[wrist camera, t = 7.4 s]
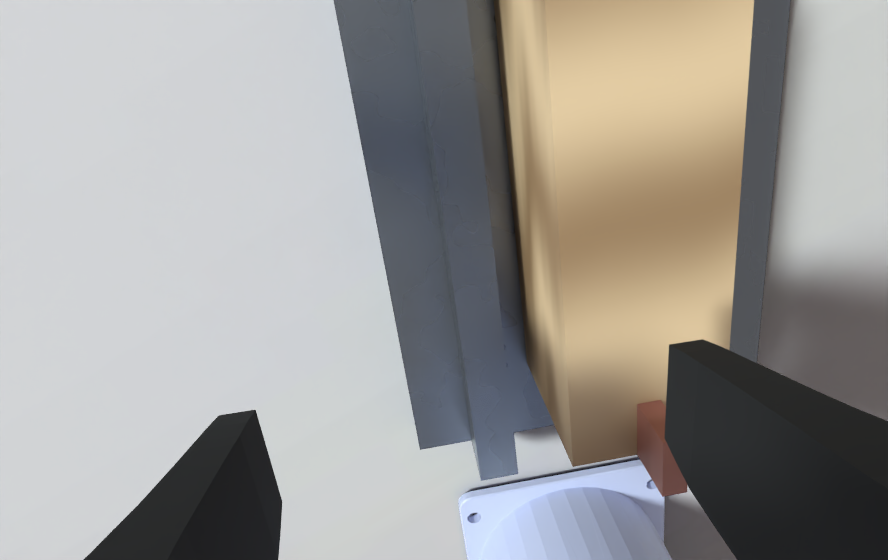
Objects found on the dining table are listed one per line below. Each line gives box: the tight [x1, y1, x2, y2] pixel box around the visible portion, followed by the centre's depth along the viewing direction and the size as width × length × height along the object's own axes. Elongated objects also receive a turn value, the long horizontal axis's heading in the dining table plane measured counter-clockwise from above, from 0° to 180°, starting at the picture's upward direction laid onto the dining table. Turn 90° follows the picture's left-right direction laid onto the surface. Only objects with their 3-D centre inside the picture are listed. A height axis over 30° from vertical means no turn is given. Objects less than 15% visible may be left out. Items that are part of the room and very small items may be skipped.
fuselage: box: [494, 0, 754, 497], centre depth 15 cm, size 14×4×6 cm, turn 8°
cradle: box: [334, 0, 791, 481], centre depth 17 cm, size 18×12×3 cm, turn 8°
